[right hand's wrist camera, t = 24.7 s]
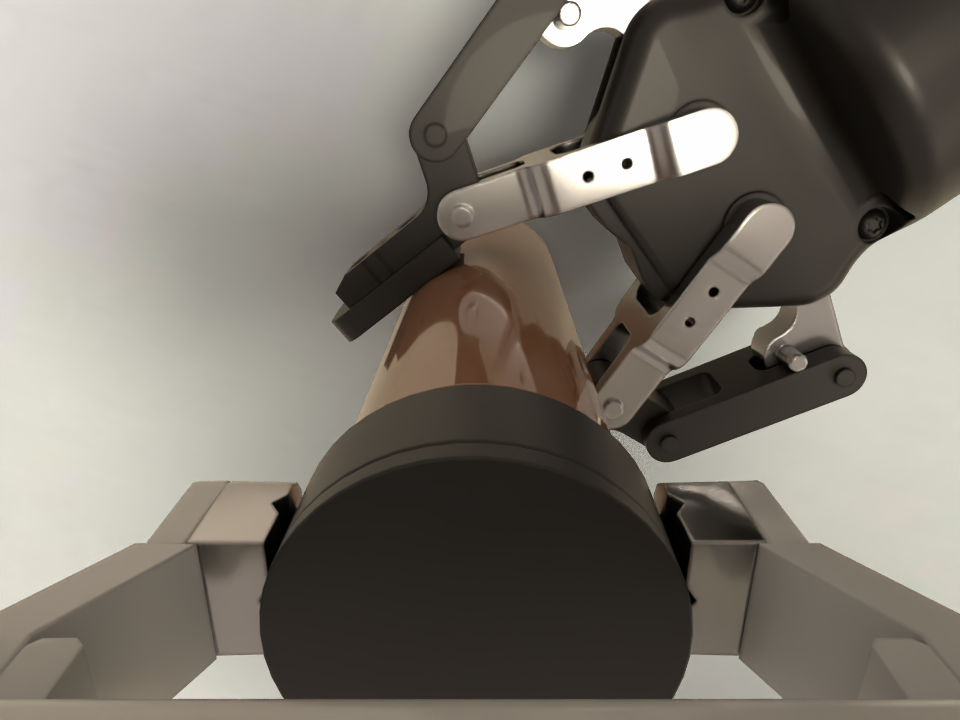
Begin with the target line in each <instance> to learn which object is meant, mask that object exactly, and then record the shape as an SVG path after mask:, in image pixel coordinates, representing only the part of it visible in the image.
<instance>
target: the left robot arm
mask: <svg viewBox="0 0 960 720" xmlns="http://www.w3.org/2000/svg"><path fill="white" fill-rule="evenodd" d="M595 31H604V32H607V33H609V34H611V35H613V36H614V37H615V38H616V39H615V42H614V45H613V48H612V51H611V54H610V57H609V60H608V63H607V66H606V69H605V72H604V76H603V79H602V82H601V85H600V88H599V91H598V94H597V97H596V100H595V103H594V106H593V109H592V112H591V115H590V118H589V122H588V125H587V128H586V131H585V134H584V135H581V136H578V137H575V138H572V139H570V140H567V141H564V142H561V143H558V144H555V145H552V146H549V147H546V148H543V149H540V150H537V151H535V152H532V153H529V154H527V155H524V156H522V157H520V158H518V159H516V160H513V161H511V162H508V163H505V164H502V165H499V166H496V167H493V168H490V169H487V170H484V171H482V172H479V173H477V169H476V166H475V163H474V160H473V157H472V153H471V150H470V147H469V144H468V141H467V137H468V136H469V135H470V133H471V132H472V131H473V129H474V128H475V126H476V125H477V124H478V122H479V121H480V120H481V118H482V117H483V115H484V114H485V113H486V111H487V110H488V109H489V107H490V106H491V105H492V103H493V102H494V100H495V99H496V98H497V96H498V95H499V94H500V92H501V91H502V90H503V88H504V87H505V85H506V84H507V83H508V81H509V80H510V79H511V77H512V76H513V75H514V73H515V72H516V70H517V69H518V68H519V66H520V65H521V64H522V62H523V61H524V60H525V58H526V57H527V55H528V54H529V53H530V51H531V50H532V49H533V47H534V46H535V45H536V43H537V42H538V40H541V41H542V42H543V43H544V44H545V45H546V46H548V47H550V48H552V49H555V50H565V49H568V48H570V47H572V46H574V45H576V44H577V43H579V42H580V41H581V40H582V39H583V38H585V37H586V36H587V35H588V34H589V33H591V32H595ZM409 138H410V143H411V146H412V148H413V150H414V151H415V152H416V154H417V156H418V159H419V162H420V165H421V168H422V171H423V174H424V177H425V180H426V183H427V189H428V196H427V201H426V204H425V205H424V206H423V207H422V208H421V209H420V210H419V211H418V212H416V213H415V214H414V215H413V216H411V217H410V218H409V219H408V220H407V221H405V222H404V223H403V224H402V225H400V226H399V227H398V228H397V229H395V230H394V231H393V232H392V233H390V234H389V235H388V236H387V237H386V238H384V239H383V240H382V241H381V242H379V243H378V244H377V245H376V246H374V247H373V248H372V249H371V250H370V251H368V252H367V253H366V254H365V255H363V256H362V257H361V258H360V259H358V260H357V261H356V262H355V263H354V264H353V265H352V267H351V268H350V269H349V270H348V272H347V273H346V274H345V276H344V278H343V280H342V282H341V284H340V286H339V287H338V289H337V291H336V294H337V295H338V296H339V298H340V299H341V300H342V301H343V302H344V304H343V305H342V307H341V308H340V309H339V311H338V312H337V314H336V316H335V317H334V319H333V320H332V323H333V324H334V325H335V326H336V327H337V328H338V329H339V331H340V332H341V333H342V334H343V335H344V336H345V337H346V338H347V339H348V341H349V342H351V341H353V340H355V339H356V338H358V337H359V336H360V335H362V334H363V333H364V332H366V331H367V330H368V329H369V328H371V327H372V326H373V325H375V324H376V323H377V322H378V321H380V320H381V319H382V318H384V317H385V316H386V315H388V314H389V313H390V312H391V311H393V310H394V309H395V308H397V307H398V306H399V305H400V304H402V303H403V302H404V301H406V300H407V299H408V298H409V297H411V296H412V295H413V294H415V293H416V292H417V291H418V290H419V289H421V288H422V287H423V286H424V285H425V284H427V283H428V282H429V281H431V280H432V279H434V278H435V277H436V276H438V275H439V274H440V273H442V272H443V271H444V270H445V269H447V268H448V267H449V266H451V265H452V264H453V263H454V262H456V261H457V260H458V259H460V250H461V245H462V244H463V243H464V242H465V241H467V240H471V239H474V238H477V237H480V236H483V235H486V234H489V233H492V232H495V231H498V230H501V229H504V228H507V227H510V226H513V225H516V224H519V223H522V222H525V221H528V220H531V219H535V218H540V217H550V216H555V215H558V214H561V213H565V212H568V211H571V210H574V209H577V208H580V207H583V206H586V207H587V208H588V210H589V211H590V213H591V214H592V215H593V216H594V217H595V218H596V219H597V220H598V221H599V222H600V223H601V224H602V225H603V226H604V227H605V228H606V229H607V230H609V231H610V232H611V233H612V234H614V235H615V236H616V237H617V240H618V243H619V246H620V248H621V251H622V254H623V257H624V260H625V262H626V263H627V265H628V266H629V267H630V269H631V270H632V272H633V273H634V274H635V276H636V277H637V279H636V280H635V282H634V283H633V284H632V286H631V287H630V288H629V290H628V291H627V293H626V294H625V295H624V297H623V298H622V299H621V301H620V303H619V305H618V307H617V309H616V313H615V317H614V319H613V321H612V322H611V324H610V325H609V327H608V328H607V329H606V331H605V332H604V333H603V335H602V336H601V337H600V339H599V340H598V342H597V343H596V344H595V346H594V347H593V348H592V350H591V351H590V352H589V354H588V355H587V356H586V361H587V364H588V367H589V370H590V373H591V376H592V379H593V382H594V385H595V388H596V391H597V394H598V397H599V400H600V403H601V406H602V409H603V412H604V415H605V418H606V421H607V424H608V427H609V430H616V431H620V432H622V433H624V434H625V435H627V436H629V437H631V438H632V439H634V440H636V441H637V442H639V443H641V444H643V445H644V446H646V449H647V451H648V452H649V454H650V455H651V457H653V458H654V459H656V460H658V461H661V462H672V461H676V460H678V459H681V458H684V457H686V456H689V455H692V454H694V453H697V452H700V451H702V450H705V449H708V448H710V447H713V446H716V445H718V444H721V443H724V442H726V441H729V440H732V439H734V438H737V437H740V436H742V435H745V434H748V433H750V432H753V431H756V430H758V429H761V428H764V427H766V426H769V425H772V424H774V423H777V422H780V421H782V420H785V419H788V418H790V417H793V416H796V415H798V414H801V413H804V412H806V411H809V410H812V409H814V408H817V407H820V406H822V405H825V404H828V403H830V402H833V401H836V400H838V399H841V398H844V397H846V396H849V395H851V394H853V393H855V392H856V391H857V390H859V389H860V387H861V386H862V385H863V383H864V382H865V379H866V376H867V368H866V365H865V363H864V362H863V361H862V360H861V359H860V358H859V357H857V356H856V355H854V354H853V353H851V352H850V351H849V350H848V349H847V348H846V347H845V346H844V345H843V342H842V338H841V335H840V331H839V327H838V323H837V319H836V315H835V312H834V308H833V304H832V300H831V296H830V294H831V293H832V292H833V291H834V290H835V289H836V288H838V286H839V285H840V284H841V283H842V281H843V280H844V278H845V277H846V275H847V273H848V272H849V270H850V268H851V267H852V266H853V264H854V263H855V261H856V260H857V259H858V258H859V257H860V255H861V254H862V253H863V252H864V251H865V250H866V249H867V248H868V247H870V246H871V245H872V244H874V243H875V242H877V241H878V240H880V239H882V238H884V237H886V236H888V235H890V234H892V233H894V232H896V231H898V230H900V229H903V228H905V227H907V226H909V225H911V224H913V223H915V222H917V221H919V220H921V219H922V218H924V217H926V216H927V215H929V214H930V213H932V212H933V211H935V210H936V209H938V208H939V207H941V206H942V205H944V204H945V203H947V202H948V201H950V200H951V199H953V198H954V197H956V196H957V195H959V194H960V0H496V2H495V3H494V4H493V6H492V7H491V9H490V10H489V12H488V13H487V14H486V16H485V17H484V19H483V20H482V22H481V23H480V24H479V26H478V27H477V29H476V30H475V32H474V33H473V34H472V36H471V37H470V39H469V40H468V42H467V43H466V44H465V46H464V47H463V49H462V50H461V52H460V53H459V54H458V56H457V57H456V59H455V60H454V62H453V63H452V64H451V66H450V67H449V69H448V70H447V72H446V73H445V74H444V76H443V77H442V79H441V80H440V82H439V83H438V84H437V86H436V87H435V89H434V90H433V92H432V93H431V94H430V96H429V97H428V99H427V100H426V102H425V103H424V104H423V106H422V107H421V109H420V110H419V112H418V113H417V114H416V116H415V117H414V119H413V121H412V123H411V125H410V130H409ZM776 306H781V308H780V311H779V313H778V315H777V316H776V317H775V318H774V319H773V320H772V321H771V322H770V323H768V324H766V325H765V326H763V327H760V328H758V329H757V330H756V331H755V333H754V337H753V339H752V343H751V345H750V346H748V347H745V348H743V349H740V350H738V351H735V352H733V353H730V354H727V355H725V356H722V357H720V358H717V359H715V360H712V361H710V362H707V363H705V364H702V365H700V366H697V367H694V368H692V369H689V370H687V371H684V372H682V373H679V374H677V375H674V376H672V377H669V378H666V379H664V380H663V378H664V377H665V376H666V375H667V373H669V372H670V371H671V370H676V369H679V368H681V367H683V366H684V365H685V364H686V363H687V362H688V361H689V360H690V358H691V357H692V356H693V355H694V353H695V352H696V351H697V350H698V348H699V347H700V346H701V345H702V343H703V342H704V341H705V340H706V338H707V337H708V336H709V335H710V333H711V332H712V331H713V330H714V328H715V327H716V326H717V325H718V323H719V322H720V321H721V320H722V318H723V317H724V316H725V315H726V313H727V312H728V311H729V310H730V308H748V307H776ZM686 319H687V320H686Z"/></svg>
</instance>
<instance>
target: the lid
mask: <svg viewBox="0 0 960 720" xmlns="http://www.w3.org/2000/svg"><path fill="white" fill-rule="evenodd" d="M259 619H260V637H261V643H262V648H263V653H264V657H265V660H266V663H267V666H268V668H269V671H270V674H271V677H272V678H273V680H274V682H275V684H276V686H277V688H278V689H279V691H280V693H281V695H282V697H283V698H284V699H672V698H673V697H674V695H675V693H676V691H677V689H678V687H679V685H680V683H681V681H682V679H683V677H684V674H685V671H686V667H687V664H688V661H689V657H690V653H691V645H692V638H693V614H692V606H691V601H690V597H689V592H688V588H687V585H686V582H685V580H684V577H683V574H682V572H681V569H680V567H679V564H678V561H677V559H676V556H675V554H674V551H673V549H672V546H671V543H670V541H669V538H668V536H667V533H666V530H665V528H664V525H663V523H662V520H661V518H660V515H659V512H658V510H657V507H656V505H655V502H654V499H653V497H652V494H651V492H650V489H649V487H648V484H647V482H646V479H645V477H644V476H643V474H642V472H641V471H640V469H639V467H638V466H637V464H636V462H635V461H634V459H633V458H632V457H631V455H630V454H629V453H628V452H627V451H626V449H625V448H624V447H623V446H622V444H621V443H620V442H619V441H618V440H617V439H616V438H614V437H613V436H612V435H611V434H610V433H609V432H608V431H607V430H606V429H605V428H604V427H602V426H601V425H599V424H598V423H597V422H595V421H594V420H592V419H591V418H589V417H588V416H586V415H585V414H584V413H582V412H580V411H578V410H576V409H574V408H572V407H570V406H568V405H566V404H564V403H562V402H560V401H557V400H555V399H552V398H549V397H546V396H544V395H541V394H538V393H534V392H530V391H526V390H521V389H517V388H513V387H504V386H495V385H457V386H449V387H442V388H435V389H431V390H427V391H423V392H420V393H416V394H412V395H409V396H407V397H404V398H401V399H399V400H396V401H394V402H391V403H389V404H387V405H385V406H383V407H381V408H380V409H378V410H376V411H374V412H372V413H371V414H369V415H367V416H366V417H364V418H363V419H362V420H360V421H359V422H358V423H356V424H355V425H354V426H352V427H351V428H350V429H348V430H347V431H346V432H345V433H344V434H343V435H342V436H341V437H340V438H339V439H338V440H337V441H336V442H335V443H334V444H333V445H332V447H331V448H330V449H329V451H328V452H327V453H326V455H325V456H324V457H323V459H322V460H321V461H320V463H319V465H318V467H317V469H316V470H315V472H314V474H313V476H312V478H311V480H310V482H309V484H308V486H307V488H306V491H305V493H304V495H303V497H302V499H301V501H300V503H299V506H298V508H297V510H296V512H295V514H294V516H293V518H292V521H291V523H290V525H289V527H288V529H287V531H286V533H285V536H284V538H283V540H282V542H281V544H280V546H279V549H278V551H277V553H276V555H275V557H274V559H273V561H272V564H271V566H270V568H269V571H268V574H267V577H266V580H265V583H264V586H263V590H262V596H261V603H260V610H259Z"/></svg>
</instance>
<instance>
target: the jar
mask: <svg viewBox="0 0 960 720" xmlns="http://www.w3.org/2000/svg"><path fill="white" fill-rule="evenodd" d="M457 385H495V386H504V387H513V388H517V389H521V390H526V391H530V392H534V393H538V394H541V395H544V396H546V397H549V398H552V399H555V400H557V401H560V402H562V403H564V404H566V405H568V406H570V407H572V408H574V409H576V410H578V411H580V412H582V413H584V414H585V415H586V416H588V417H589V418H591V419H592V420H594V421H595V422H597V423H598V424H599V425H601V426H602V427H604V428H605V429H606V430H607V431H608V432H609V433H610V430H609V427H608V424H607V421H606V418H605V415H604V412H603V409H602V406H601V403H600V400H599V397H598V394H597V391H596V388H595V385H594V382H593V379H592V376H591V373H590V370H589V367H588V364H587V361H586V358H585V355H584V352H583V349H582V346H581V343H580V340H579V337H578V334H577V331H576V328H575V325H574V323H573V320H572V317H571V314H570V311H569V308H568V305H567V302H566V299H565V296H564V293H563V290H562V287H561V284H560V281H559V278H558V275H557V272H556V269H555V266H554V263H553V260H552V257H551V254H550V252H549V250H548V248H547V246H546V244H545V243H544V241H543V240H542V238H541V237H540V236H539V235H538V234H537V233H536V232H535V231H534V230H533V229H532V228H531V227H530V226H528V225H527V224H526V223H524V222H522V223H519V224H516V225H513V226H510V227H507V228H504V229H501V230H498V231H495V232H492V233H489V234H486V235H483V236H480V237H477V238H474V239H471V240H467V241H465V242H464V243H463V244H462V245H461V250H460V259H458V260H457V261H456V262H454V263H453V264H452V265H451V266H449V267H448V268H447V269H445V270H444V271H443V272H442V273H440V274H439V275H438V276H436V277H435V278H434V279H432V280H431V281H429V282H428V283H427V284H425V285H424V286H423V287H422V288H421V289H419V290H418V291H417V292H416V293H415V294H413V295H412V296H411V297H409V298H408V299H407V300H406V302H405V304H404V307H403V309H402V312H401V314H400V316H399V319H398V321H397V324H396V326H395V328H394V331H393V333H392V336H391V338H390V341H389V343H388V345H387V348H386V350H385V353H384V355H383V357H382V360H381V362H380V365H379V367H378V369H377V372H376V374H375V377H374V379H373V382H372V384H371V386H370V389H369V391H368V394H367V396H366V398H365V401H364V403H363V406H362V408H361V411H360V413H359V415H358V418H357V420H356V423H358V422H359V421H360V420H362V419H363V418H364V417H366V416H367V415H369V414H371V413H372V412H374V411H376V410H378V409H380V408H381V407H383V406H385V405H387V404H389V403H391V402H394V401H396V400H399V399H401V398H404V397H407V396H409V395H412V394H416V393H420V392H423V391H427V390H431V389H435V388H442V387H449V386H457ZM356 423H355V424H356ZM610 434H611V433H610Z"/></svg>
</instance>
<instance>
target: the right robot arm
mask: <svg viewBox="0 0 960 720" xmlns="http://www.w3.org/2000/svg"><path fill="white" fill-rule="evenodd" d="M301 499H302V492H301V488H300V486H299V485H298V483H297V482H248V481H232V482H230V481H199V482H195V483H193V484H192V485H191V486H190V487H189V488H188V490H187V491H186V492H185V494H184V495H183V496H182V497H181V499H180V500H179V501H178V503H177V504H176V505H175V506H174V508H173V509H172V510H171V512H170V513H169V514H168V516H167V517H166V518H165V519H164V521H163V522H162V523H161V525H160V526H159V527H158V528H157V530H156V531H155V532H154V534H153V535H152V536H151V538H150V539H149V540H148V541H147V543H139V544H133V545H131V546H129V547H127V548H125V549H123V550H121V551H119V552H117V553H115V554H113V555H111V556H109V557H107V558H105V559H103V560H101V561H99V562H97V563H95V564H93V565H91V566H89V567H87V568H85V569H83V570H81V571H79V572H77V573H75V574H73V575H71V576H69V577H67V578H65V579H63V580H61V581H59V582H57V583H55V584H53V585H51V586H49V587H47V588H45V589H43V590H41V591H39V592H37V593H35V594H33V595H31V596H29V597H27V598H25V599H23V600H21V601H19V602H17V603H15V604H13V605H11V606H9V607H7V608H5V609H3V610H1V611H0V720H960V614H959V613H957V612H955V611H953V610H951V609H949V608H947V607H945V606H943V605H941V604H939V603H937V602H935V601H933V600H931V599H929V598H927V597H925V596H923V595H921V594H919V593H917V592H915V591H913V590H911V589H909V588H907V587H905V586H903V585H901V584H899V583H897V582H895V581H893V580H891V579H889V578H887V577H885V576H883V575H881V574H879V573H878V572H876V571H874V570H872V569H870V568H868V567H866V566H864V565H862V564H860V563H858V562H856V561H854V560H852V559H850V558H848V557H846V556H844V555H842V554H840V553H838V552H836V551H834V550H832V549H830V548H828V547H826V546H824V545H822V544H817V543H809V542H808V541H807V540H806V538H805V537H804V536H803V534H802V533H801V532H800V531H799V529H798V528H797V527H796V525H795V524H794V523H793V521H792V520H791V519H790V517H789V516H788V515H787V514H786V512H785V511H784V510H783V508H782V507H781V506H780V504H779V503H778V502H777V500H776V499H775V498H774V497H773V495H772V494H771V493H770V491H769V490H768V489H767V487H766V486H765V485H764V484H763V483H761V482H759V481H757V480H755V481H730V482H688V483H660V484H657V486H656V489H655V492H654V502H655V505H656V507H657V510H658V512H659V515H660V518H661V520H662V523H663V525H664V528H665V530H666V533H667V536H668V538H669V541H670V543H671V546H672V549H673V551H674V554H675V556H676V559H677V561H678V564H679V567H680V569H681V572H682V574H683V577H684V580H685V582H686V585H687V588H688V592H689V597H690V601H691V606H692V614H693V638H692V645H691V653H690V654H701V655H737V656H739V659H740V660H741V661H742V662H744V663H745V664H746V665H747V666H748V667H749V668H750V669H751V670H752V671H754V672H755V673H756V674H757V675H758V676H759V677H760V678H761V679H762V680H764V681H765V682H766V683H767V684H768V685H769V686H770V687H771V688H772V689H774V690H775V691H776V692H777V693H778V694H779V695H780V696H781V697H782V698H784V699H172V698H173V697H174V696H176V695H177V694H178V693H179V692H180V691H181V690H182V689H183V688H184V687H186V686H187V685H188V684H189V683H190V682H191V681H192V680H193V679H195V678H196V677H197V676H198V675H199V674H200V673H201V672H202V671H204V670H205V669H206V668H207V667H208V666H209V665H210V664H211V663H213V662H214V661H215V660H216V656H219V655H254V654H264V653H263V648H262V643H261V637H260V619H259V610H260V603H261V596H262V590H263V586H264V583H265V580H266V577H267V574H268V571H269V568H270V566H271V564H272V561H273V559H274V557H275V555H276V553H277V551H278V549H279V546H280V544H281V542H282V540H283V538H284V536H285V533H286V531H287V529H288V527H289V525H290V523H291V521H292V518H293V516H294V514H295V512H296V510H297V508H298V506H299V503H300V501H301Z"/></svg>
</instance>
